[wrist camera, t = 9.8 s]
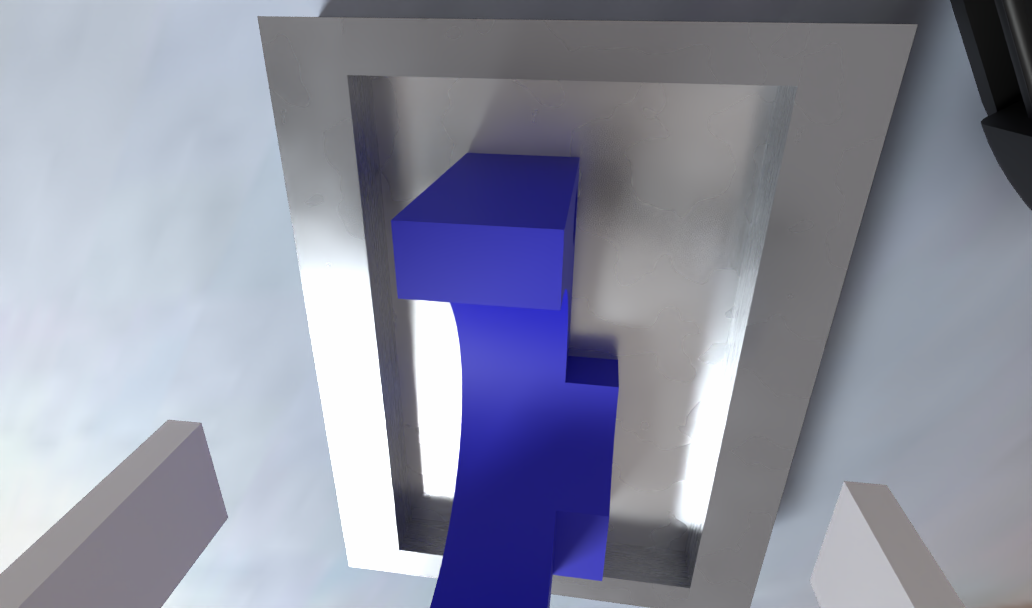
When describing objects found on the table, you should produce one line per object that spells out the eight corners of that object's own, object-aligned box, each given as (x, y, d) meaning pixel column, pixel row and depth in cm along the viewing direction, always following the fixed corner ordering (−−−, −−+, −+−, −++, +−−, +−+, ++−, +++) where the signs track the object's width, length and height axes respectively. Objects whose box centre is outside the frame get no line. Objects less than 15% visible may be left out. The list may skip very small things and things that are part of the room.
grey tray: (378, 505, 24) (349, 566, 21) (316, 18, 16) (257, 16, 13) (729, 548, 22) (746, 620, 19) (858, 25, 14) (917, 24, 11)
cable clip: (602, 506, 20) (601, 683, 15) (476, 492, 20) (429, 656, 15) (638, 159, 15) (656, 234, 9) (467, 152, 15) (390, 220, 10)
